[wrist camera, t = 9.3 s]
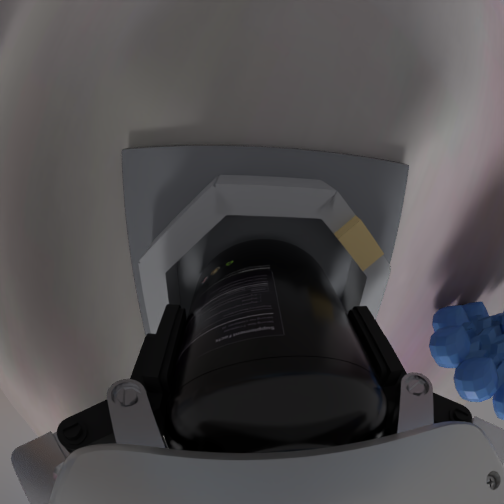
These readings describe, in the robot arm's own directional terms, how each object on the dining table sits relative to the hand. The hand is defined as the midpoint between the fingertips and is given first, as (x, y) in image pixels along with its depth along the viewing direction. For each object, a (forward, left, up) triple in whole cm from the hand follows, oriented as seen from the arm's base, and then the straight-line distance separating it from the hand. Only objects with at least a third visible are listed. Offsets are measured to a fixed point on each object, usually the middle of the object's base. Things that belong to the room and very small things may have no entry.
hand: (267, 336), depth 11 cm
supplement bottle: (0, 0, -4) cm, 4 cm away
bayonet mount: (0, 0, -5) cm, 5 cm away
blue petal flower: (+16, -2, -5) cm, 17 cm away
